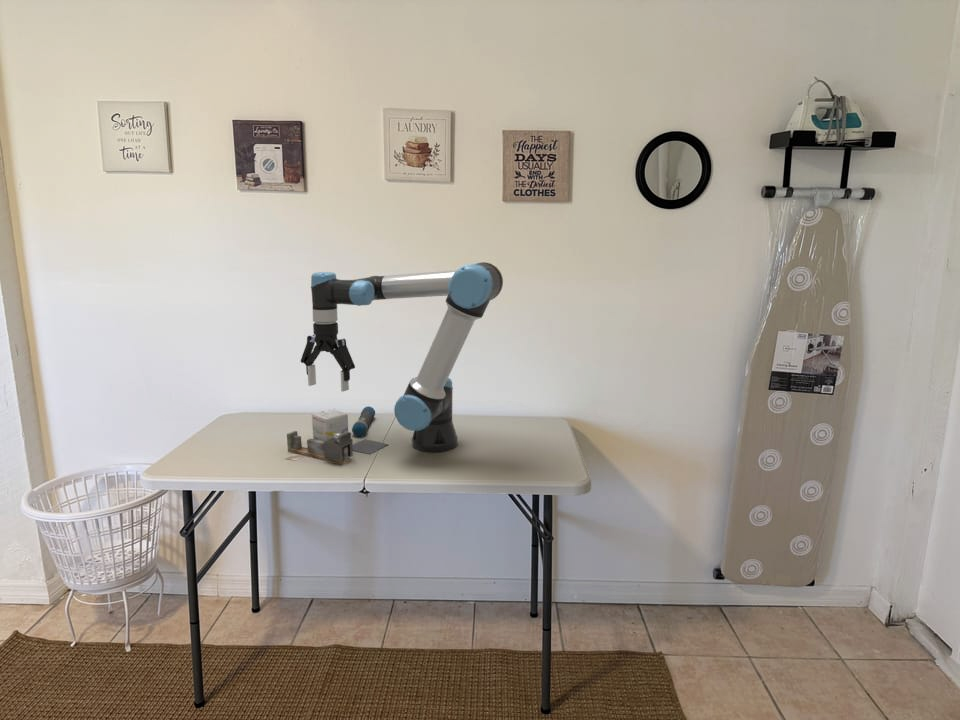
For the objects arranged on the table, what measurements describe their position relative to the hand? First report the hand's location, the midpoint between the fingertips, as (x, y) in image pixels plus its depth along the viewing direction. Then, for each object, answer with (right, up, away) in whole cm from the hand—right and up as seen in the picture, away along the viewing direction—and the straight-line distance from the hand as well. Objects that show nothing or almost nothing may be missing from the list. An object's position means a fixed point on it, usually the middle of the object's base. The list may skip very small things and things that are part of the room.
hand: (328, 387), depth 196 cm
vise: (-3, -22, -5) cm, 23 cm away
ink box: (0, -20, +4) cm, 21 cm away
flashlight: (+7, -16, +24) cm, 30 cm away
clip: (+5, -21, -7) cm, 23 cm away
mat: (+12, -20, +5) cm, 23 cm away
